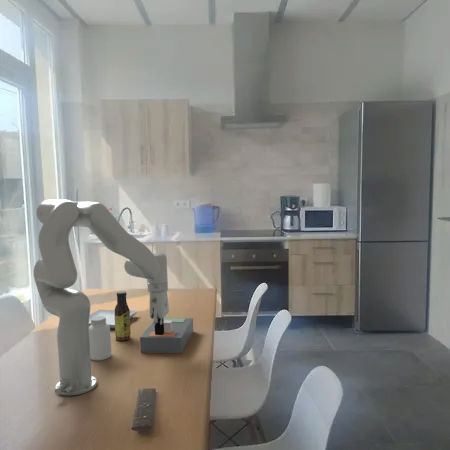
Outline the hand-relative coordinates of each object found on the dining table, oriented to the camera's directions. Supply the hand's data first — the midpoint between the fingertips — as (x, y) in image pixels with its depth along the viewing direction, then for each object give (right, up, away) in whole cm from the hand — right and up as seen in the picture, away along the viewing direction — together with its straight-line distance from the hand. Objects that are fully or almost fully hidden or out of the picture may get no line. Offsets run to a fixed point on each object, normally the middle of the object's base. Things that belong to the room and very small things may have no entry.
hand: (159, 334), depth 163 cm
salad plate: (-30, -5, +40) cm, 51 cm away
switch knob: (+1, -1, +7) cm, 7 cm away
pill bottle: (-22, -9, -1) cm, 24 cm away
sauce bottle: (-18, -7, +18) cm, 26 cm away
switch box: (+2, -6, +14) cm, 15 cm away
